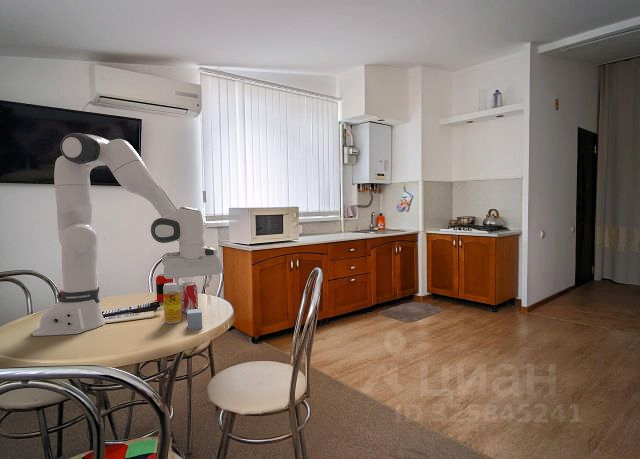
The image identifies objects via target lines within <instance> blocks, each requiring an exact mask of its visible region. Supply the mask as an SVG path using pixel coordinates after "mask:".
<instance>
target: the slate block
mask: <svg viewBox="0 0 640 459" xmlns="http://www.w3.org/2000/svg"><path fill="white" fill-rule="evenodd" d="M186 314H187V315H186V316H187V317H186V319H187V330H190V331H191V330H197V329H203V314H202V308H198V309H192V310H187V313H186Z"/></svg>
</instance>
